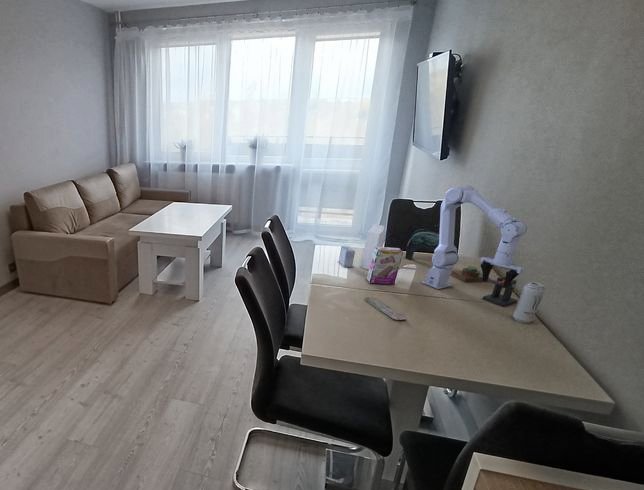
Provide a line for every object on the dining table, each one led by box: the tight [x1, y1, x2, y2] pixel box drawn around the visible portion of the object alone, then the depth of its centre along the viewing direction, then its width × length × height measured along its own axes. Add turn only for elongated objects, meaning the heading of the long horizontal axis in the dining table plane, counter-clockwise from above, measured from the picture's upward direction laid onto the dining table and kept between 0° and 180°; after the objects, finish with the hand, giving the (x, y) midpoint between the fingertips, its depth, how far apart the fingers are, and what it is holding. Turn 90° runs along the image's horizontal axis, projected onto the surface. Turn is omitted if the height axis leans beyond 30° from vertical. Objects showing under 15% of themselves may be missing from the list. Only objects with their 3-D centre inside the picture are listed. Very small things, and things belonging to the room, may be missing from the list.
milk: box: [360, 223, 387, 271], centre depth 202 cm, size 6×6×22 cm
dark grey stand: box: [482, 276, 518, 308], centre depth 172 cm, size 10×8×10 cm
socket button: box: [466, 265, 478, 272], centre depth 195 cm, size 4×4×2 cm
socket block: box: [450, 267, 490, 283], centre depth 196 cm, size 12×9×4 cm
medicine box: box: [338, 245, 356, 268], centre depth 208 cm, size 8×4×9 cm, turn 179°
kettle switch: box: [487, 278, 505, 286], centre depth 169 cm, size 11×5×2 cm, turn 116°
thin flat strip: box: [365, 296, 406, 321], centre depth 164 cm, size 5×20×1 cm, turn 11°
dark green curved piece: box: [404, 224, 456, 260], centre depth 213 cm, size 20×6×20 cm, turn 58°
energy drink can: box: [512, 281, 546, 324], centre depth 155 cm, size 6×6×15 cm
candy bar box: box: [366, 246, 404, 286], centre depth 186 cm, size 11×5×16 cm, turn 84°
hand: (494, 284), depth 167 cm, fingers open, 7 cm apart
